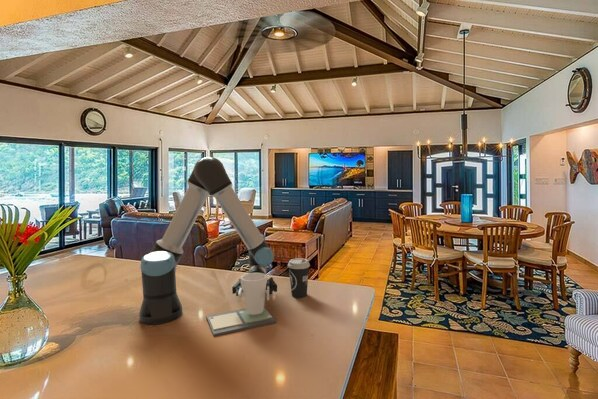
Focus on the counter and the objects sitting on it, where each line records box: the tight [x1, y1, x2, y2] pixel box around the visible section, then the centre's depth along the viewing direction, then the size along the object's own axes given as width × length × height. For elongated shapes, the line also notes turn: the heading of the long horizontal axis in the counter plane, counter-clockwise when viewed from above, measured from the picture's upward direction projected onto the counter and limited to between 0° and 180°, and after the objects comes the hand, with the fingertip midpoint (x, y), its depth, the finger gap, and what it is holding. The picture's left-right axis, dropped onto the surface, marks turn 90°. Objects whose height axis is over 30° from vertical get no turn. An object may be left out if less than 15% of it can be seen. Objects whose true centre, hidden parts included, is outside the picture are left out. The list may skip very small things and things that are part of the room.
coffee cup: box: [287, 257, 311, 299], centre depth 147 cm, size 10×10×15 cm
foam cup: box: [240, 273, 268, 315], centre depth 126 cm, size 10×9×13 cm
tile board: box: [205, 306, 277, 337], centre depth 125 cm, size 22×15×1 cm
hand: (253, 297), depth 122 cm, fingers closed on foam cup, 9 cm apart
